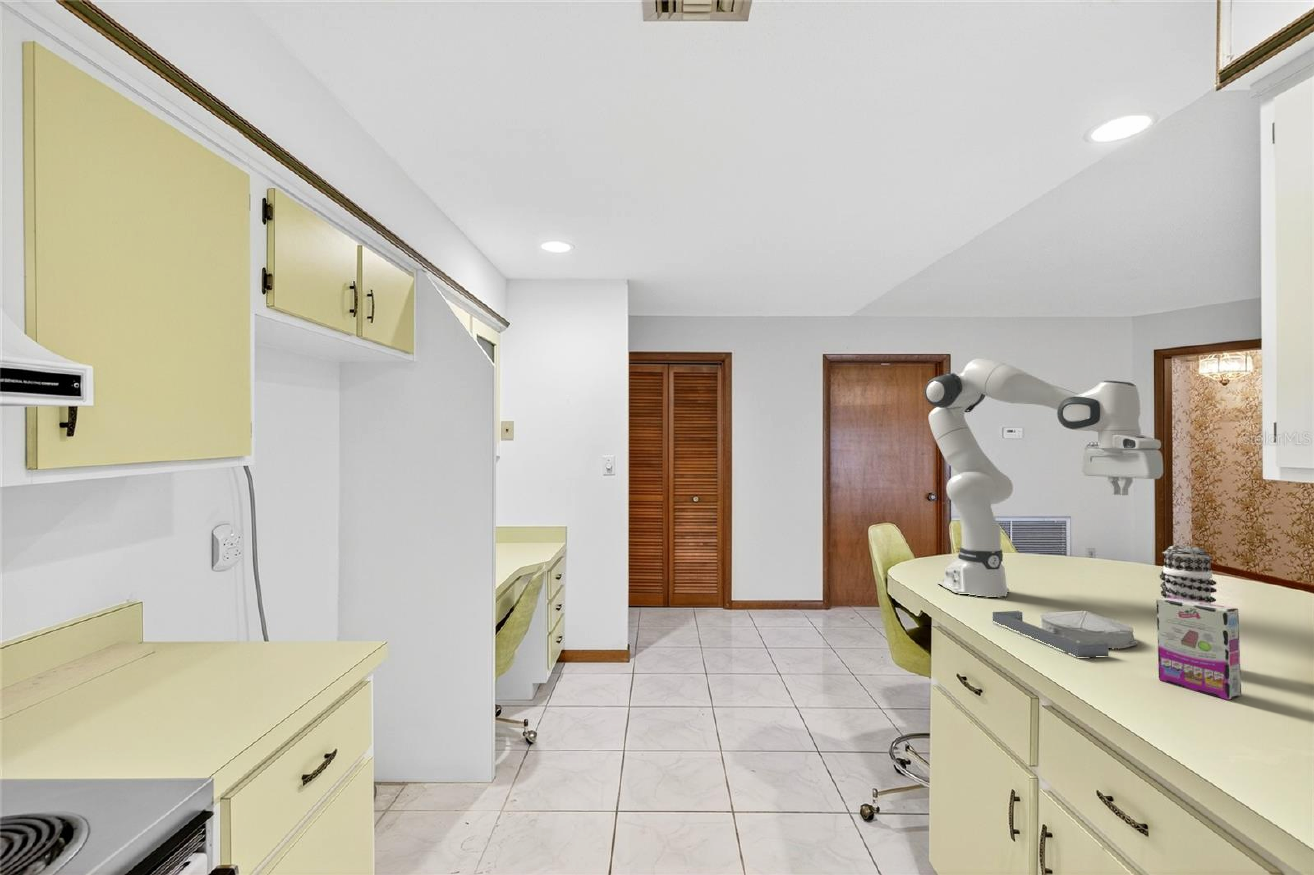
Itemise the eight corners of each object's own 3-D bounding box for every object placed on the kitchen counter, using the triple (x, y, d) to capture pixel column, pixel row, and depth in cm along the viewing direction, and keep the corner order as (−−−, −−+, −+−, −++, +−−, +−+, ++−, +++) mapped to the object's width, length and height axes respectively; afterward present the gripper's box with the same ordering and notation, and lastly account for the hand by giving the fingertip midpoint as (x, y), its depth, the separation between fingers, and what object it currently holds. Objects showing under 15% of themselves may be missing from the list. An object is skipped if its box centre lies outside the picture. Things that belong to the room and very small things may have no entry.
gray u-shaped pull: (992, 623, 157) (992, 612, 158) (1018, 622, 159) (1018, 610, 159) (1078, 659, 131) (1078, 645, 131) (1108, 657, 132) (1108, 643, 132)
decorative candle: (1156, 663, 128) (1154, 547, 128) (1166, 653, 134) (1163, 542, 134) (1214, 675, 121) (1211, 552, 121) (1221, 665, 127) (1218, 547, 127)
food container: (1018, 632, 152) (1018, 605, 152) (1072, 622, 159) (1072, 596, 159) (1100, 658, 133) (1099, 628, 133) (1157, 646, 140) (1156, 617, 140)
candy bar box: (1242, 696, 111) (1240, 608, 111) (1229, 701, 109) (1227, 611, 109) (1170, 676, 121) (1168, 595, 121) (1157, 680, 119) (1155, 597, 119)
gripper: (1075, 442, 165) (1076, 492, 165) (1145, 441, 145) (1146, 498, 145) (1095, 442, 166) (1096, 491, 166) (1167, 441, 146) (1169, 497, 146)
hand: (1120, 494), depth 155 cm, fingers closed
